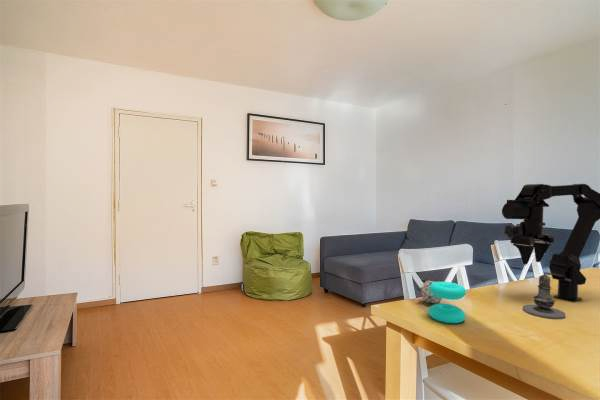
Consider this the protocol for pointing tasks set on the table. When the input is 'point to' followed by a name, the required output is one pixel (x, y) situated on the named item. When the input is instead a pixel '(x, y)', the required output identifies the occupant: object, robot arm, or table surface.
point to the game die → (428, 293)
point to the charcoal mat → (555, 315)
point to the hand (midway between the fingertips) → (531, 263)
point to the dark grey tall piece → (544, 295)
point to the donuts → (447, 311)
